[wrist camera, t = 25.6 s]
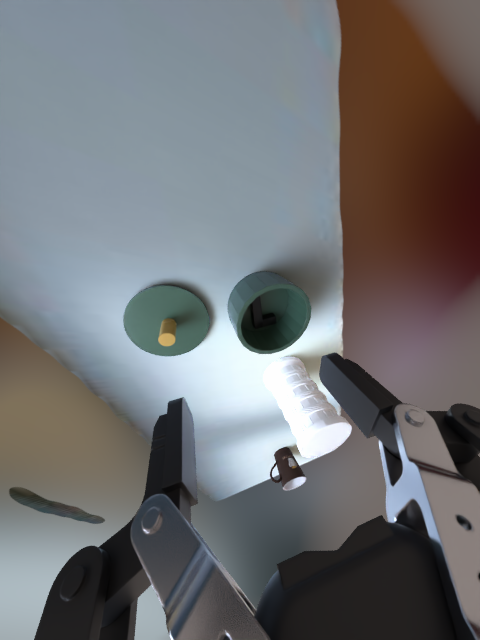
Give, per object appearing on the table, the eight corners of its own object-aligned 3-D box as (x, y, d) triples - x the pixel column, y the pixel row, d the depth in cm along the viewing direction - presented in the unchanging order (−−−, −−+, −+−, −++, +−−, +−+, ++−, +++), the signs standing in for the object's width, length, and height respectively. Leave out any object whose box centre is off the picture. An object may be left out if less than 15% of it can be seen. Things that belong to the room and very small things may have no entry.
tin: (222, 279, 34) (230, 294, 28) (291, 265, 36) (313, 275, 30) (232, 339, 41) (242, 362, 35) (290, 324, 43) (308, 343, 37)
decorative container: (266, 394, 53) (300, 466, 38) (259, 365, 47) (296, 438, 32) (304, 379, 54) (350, 443, 39) (301, 350, 48) (356, 412, 33)
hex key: (247, 287, 36) (250, 291, 34) (270, 282, 36) (274, 285, 35) (252, 325, 40) (255, 329, 38) (273, 319, 41) (276, 323, 39)
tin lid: (109, 294, 30) (94, 310, 25) (198, 276, 33) (201, 287, 28) (144, 360, 38) (137, 383, 33) (215, 342, 40) (219, 361, 35)
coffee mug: (296, 447, 74) (310, 477, 66) (281, 460, 76) (293, 491, 67) (277, 442, 68) (291, 474, 60) (261, 456, 70) (272, 489, 62)
